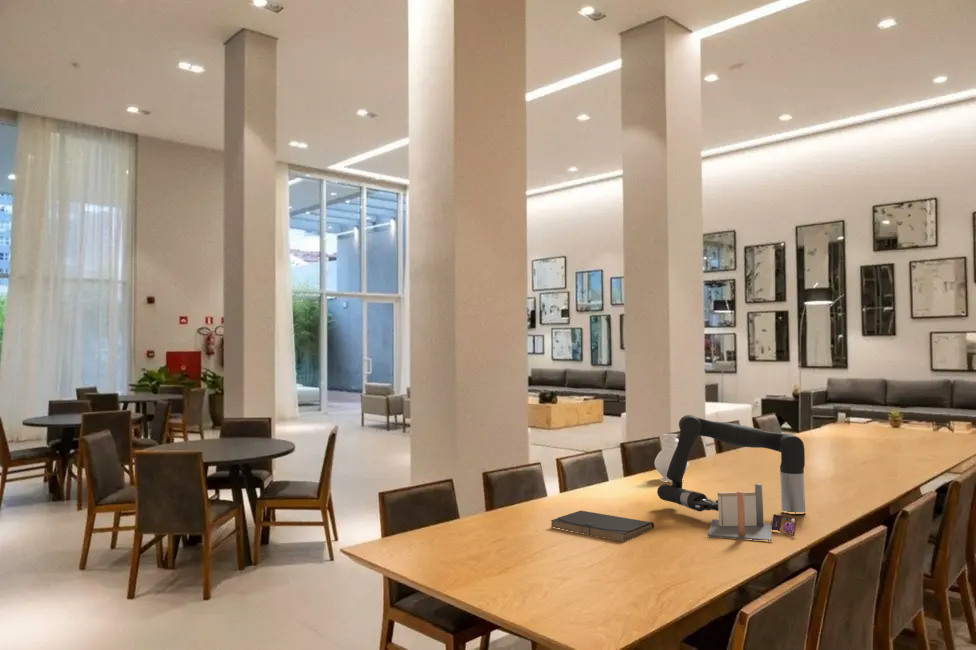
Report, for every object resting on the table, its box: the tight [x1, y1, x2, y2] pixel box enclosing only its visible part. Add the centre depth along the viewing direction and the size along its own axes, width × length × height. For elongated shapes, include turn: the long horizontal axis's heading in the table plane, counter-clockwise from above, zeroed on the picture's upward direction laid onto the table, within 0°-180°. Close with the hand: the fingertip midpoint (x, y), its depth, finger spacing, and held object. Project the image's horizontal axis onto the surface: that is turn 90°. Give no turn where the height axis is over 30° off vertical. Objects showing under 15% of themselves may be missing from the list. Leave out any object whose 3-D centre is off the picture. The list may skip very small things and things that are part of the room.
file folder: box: [550, 510, 655, 543], centre depth 258 cm, size 33×4×24 cm
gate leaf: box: [717, 490, 756, 526], centre depth 253 cm, size 14×2×13 cm, turn 92°
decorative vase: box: [654, 433, 689, 483], centre depth 352 cm, size 18×18×25 cm
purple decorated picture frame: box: [771, 513, 797, 535], centre depth 246 cm, size 7×5×9 cm
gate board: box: [707, 483, 773, 542], centre depth 250 cm, size 24×22×17 cm
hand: (722, 508), depth 257 cm, fingers closed
